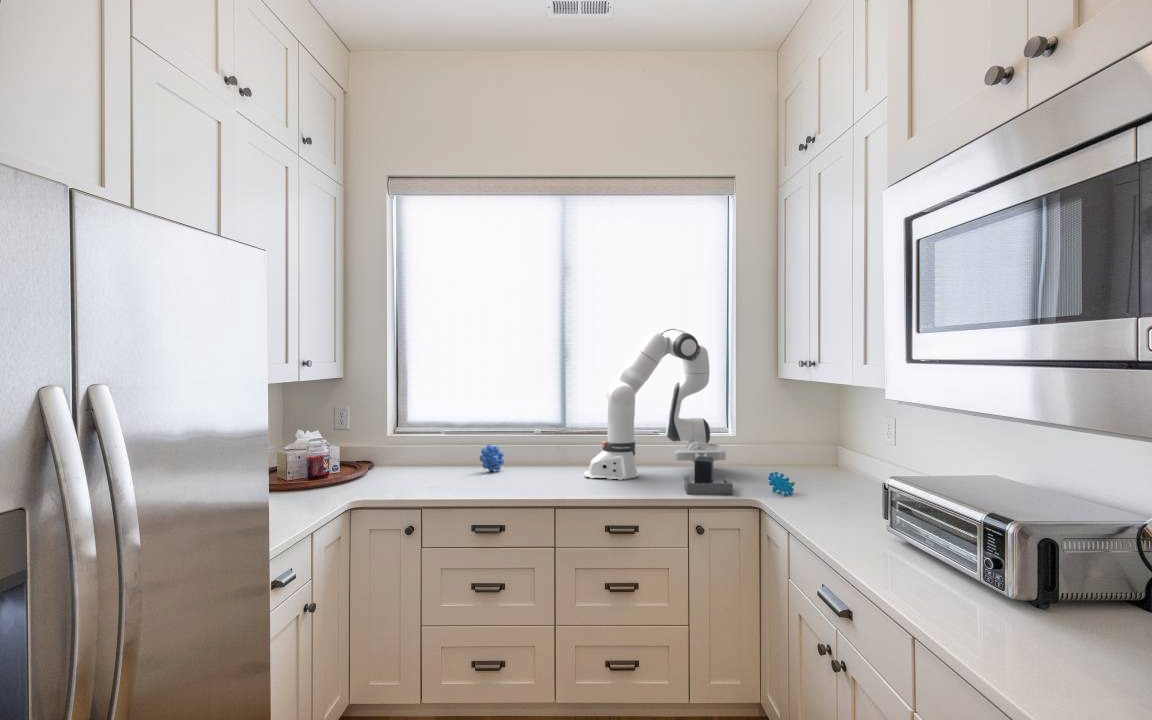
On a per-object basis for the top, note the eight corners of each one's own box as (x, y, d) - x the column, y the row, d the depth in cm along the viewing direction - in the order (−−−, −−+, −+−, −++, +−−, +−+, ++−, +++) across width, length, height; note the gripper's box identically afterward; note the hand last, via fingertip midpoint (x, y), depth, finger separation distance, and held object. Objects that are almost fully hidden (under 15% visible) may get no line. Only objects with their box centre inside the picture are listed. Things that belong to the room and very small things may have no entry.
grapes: (484, 475, 250) (484, 446, 250) (477, 472, 255) (477, 444, 255) (508, 471, 256) (508, 444, 256) (501, 469, 262) (501, 442, 262)
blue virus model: (775, 493, 207) (765, 469, 214) (767, 502, 210) (757, 478, 217) (802, 495, 210) (791, 471, 217) (792, 504, 214) (782, 481, 221)
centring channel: (687, 494, 213) (686, 483, 213) (684, 488, 223) (684, 477, 223) (732, 494, 212) (732, 483, 212) (727, 488, 222) (727, 478, 222)
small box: (711, 489, 221) (711, 461, 221) (693, 488, 223) (693, 460, 223) (714, 483, 231) (714, 456, 231) (697, 482, 233) (697, 455, 233)
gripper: (673, 445, 251) (675, 450, 238) (722, 444, 250) (727, 449, 236) (673, 460, 251) (676, 466, 238) (722, 459, 250) (728, 465, 236)
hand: (702, 458), depth 237 cm, fingers closed
